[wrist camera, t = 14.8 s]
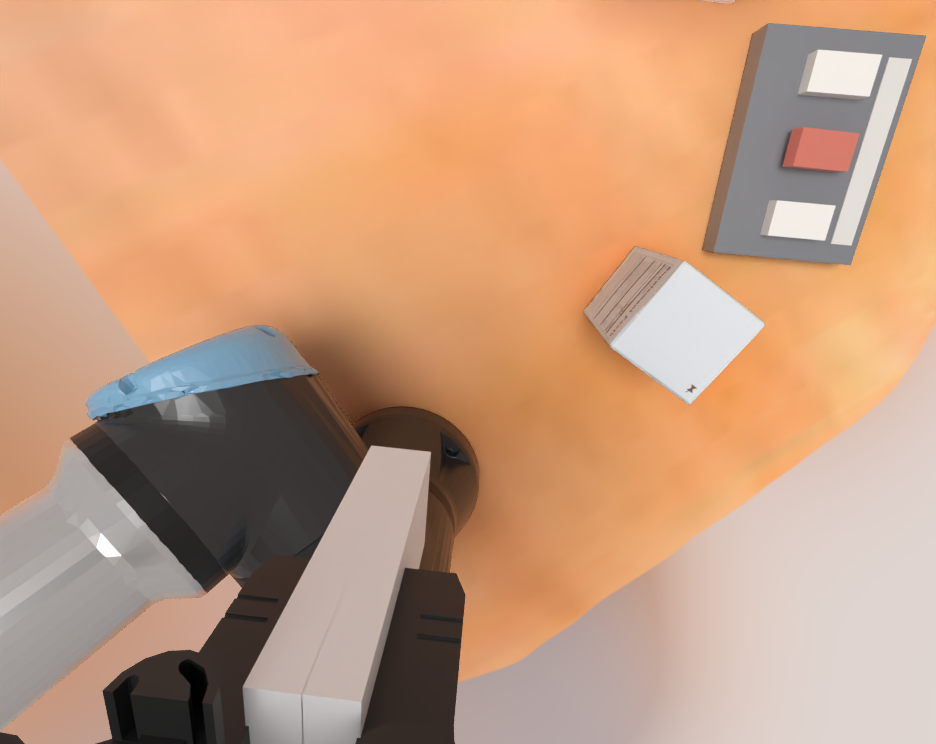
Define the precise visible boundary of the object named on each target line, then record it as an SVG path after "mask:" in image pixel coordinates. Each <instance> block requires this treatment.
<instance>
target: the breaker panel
mask: <svg viewBox="0 0 936 744" xmlns="http://www.w3.org/2000/svg"><path fill="white" fill-rule="evenodd" d="M925 38H926V36H923V35H911V34H898V33H886V32H873V31H861V30H848V29H836V28H823V27H811V26H798V25H786V24H773V23H768V24H767V25H765V26H764V27H762V28H761V29H759V30H758V31H756V32H755V33H753V34H752V38H751V42H750V47H749V51H748V55H747V60H746V64H745V68H744V72H743V77H742V81H741V85H740V90H739V94H738V98H737V102H736V107H735V111H734V115H733V120H732V124H731V128H730V132H729V137H728V141H727V145H726V150H725V154H724V158H723V163H722V167H721V171H720V175H719V180H718V184H717V188H716V193H715V197H714V201H713V205H712V210H711V214H710V218H709V223H708V227H707V231H706V235H705V240H704V244H703V248H702V250H706V251H710V252H716V253H727V254H738V255H748V256H759V257H770V258H780V259H791V260H802V261H812V262H823V263H834V264H844V265H851V262H852V259H853V256H854V253H855V250H856V247H857V244H858V241H859V238H860V235H861V232H862V229H863V226H864V223H865V220H866V217H867V214H868V211H869V208H870V205H871V202H872V199H873V196H874V193H875V190H876V187H877V184H878V181H879V178H880V175H881V172H882V169H883V166H884V163H885V159H886V156H887V153H888V150H889V147H890V144H891V141H892V138H893V135H894V132H895V129H896V126H897V123H898V120H899V117H900V114H901V111H902V108H903V105H904V102H905V99H906V96H907V93H908V90H909V87H910V84H911V81H912V78H913V75H914V72H915V69H916V66H917V63H918V60H919V57H920V54H921V51H922V48H923V44H924V41H925ZM801 127H808V128H817V129H826V130H834V131H843V132H852V133H860V134H859V138H858V141H857V144H856V147H855V151H854V154H853V157H852V160H851V163H850V167H849V170H848V172H836V173H835V172H826V171H816V170H807V169H797V168H788V167H782V165H783V162H784V158H785V154H786V151H787V147H788V143H789V139H790V136H791V132H792V129H796V128H801Z"/></svg>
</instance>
